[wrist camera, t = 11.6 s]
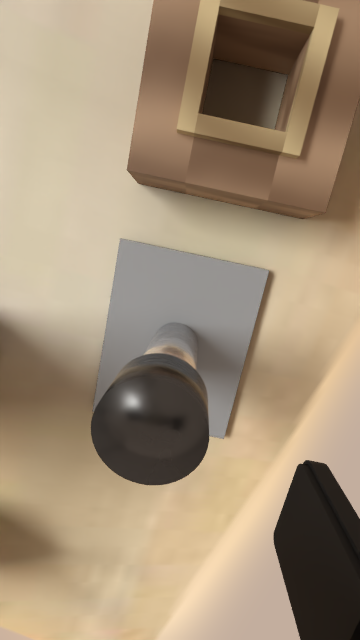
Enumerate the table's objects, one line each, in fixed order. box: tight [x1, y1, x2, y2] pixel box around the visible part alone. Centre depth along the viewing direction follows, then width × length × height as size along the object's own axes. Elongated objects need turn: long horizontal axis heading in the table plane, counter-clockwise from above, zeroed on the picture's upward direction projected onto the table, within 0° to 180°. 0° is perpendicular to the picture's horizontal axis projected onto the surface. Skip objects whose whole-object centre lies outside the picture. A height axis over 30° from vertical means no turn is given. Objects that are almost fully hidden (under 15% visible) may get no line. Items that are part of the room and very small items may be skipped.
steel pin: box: [91, 323, 209, 485], centre depth 19 cm, size 5×5×12 cm
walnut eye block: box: [127, 0, 360, 219], centre depth 19 cm, size 12×12×5 cm
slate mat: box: [93, 239, 269, 439], centre depth 25 cm, size 14×11×1 cm
